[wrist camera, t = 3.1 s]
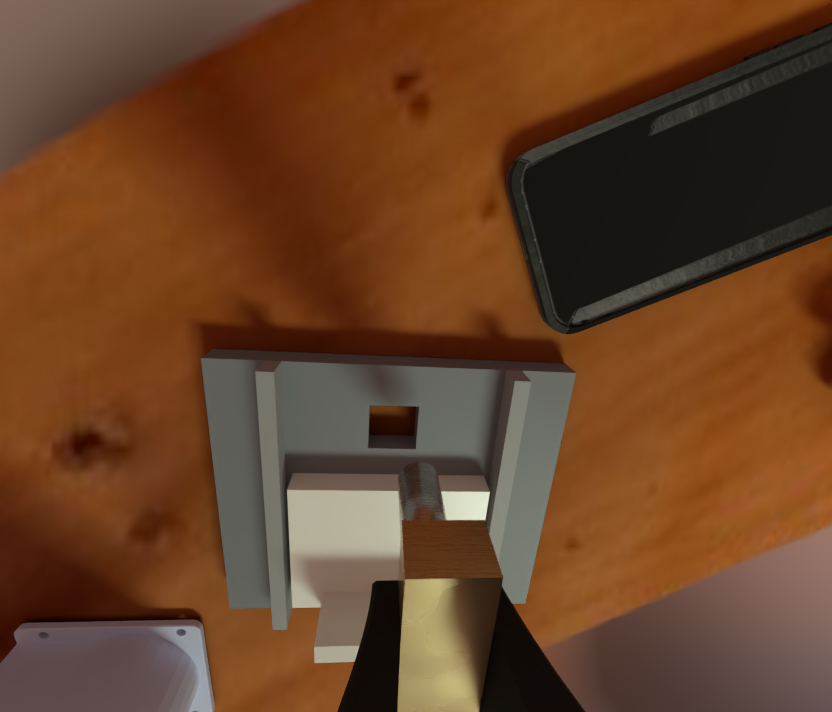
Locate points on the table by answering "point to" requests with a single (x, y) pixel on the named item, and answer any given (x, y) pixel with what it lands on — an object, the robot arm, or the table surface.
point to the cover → (355, 546)
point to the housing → (375, 447)
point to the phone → (679, 187)
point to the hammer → (442, 599)
